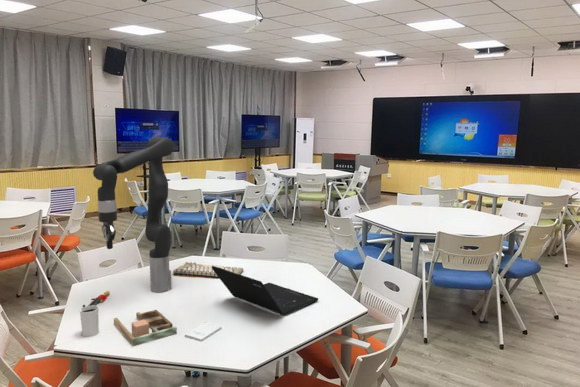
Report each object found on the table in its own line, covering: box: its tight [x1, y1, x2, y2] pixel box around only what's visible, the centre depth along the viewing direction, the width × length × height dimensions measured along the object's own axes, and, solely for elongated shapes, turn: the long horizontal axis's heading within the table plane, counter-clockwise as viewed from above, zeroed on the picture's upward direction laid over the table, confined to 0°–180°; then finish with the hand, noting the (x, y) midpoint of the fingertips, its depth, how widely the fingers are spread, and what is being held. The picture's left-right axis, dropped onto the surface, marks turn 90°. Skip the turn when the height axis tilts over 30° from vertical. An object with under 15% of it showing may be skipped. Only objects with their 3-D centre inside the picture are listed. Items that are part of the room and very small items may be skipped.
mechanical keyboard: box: [171, 261, 244, 280], centre depth 245 cm, size 38×19×3 cm, turn 80°
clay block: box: [131, 320, 150, 338], centre depth 169 cm, size 5×5×5 cm
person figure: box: [82, 290, 111, 308], centre depth 202 cm, size 5×4×18 cm
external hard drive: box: [184, 321, 222, 343], centre depth 172 cm, size 2×8×12 cm
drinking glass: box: [79, 304, 100, 338], centre depth 170 cm, size 7×7×10 cm
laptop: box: [212, 266, 319, 316], centre depth 201 cm, size 33×38×19 cm
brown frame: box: [113, 309, 178, 347], centre depth 175 cm, size 17×23×2 cm
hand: (109, 248), depth 194 cm, fingers closed
